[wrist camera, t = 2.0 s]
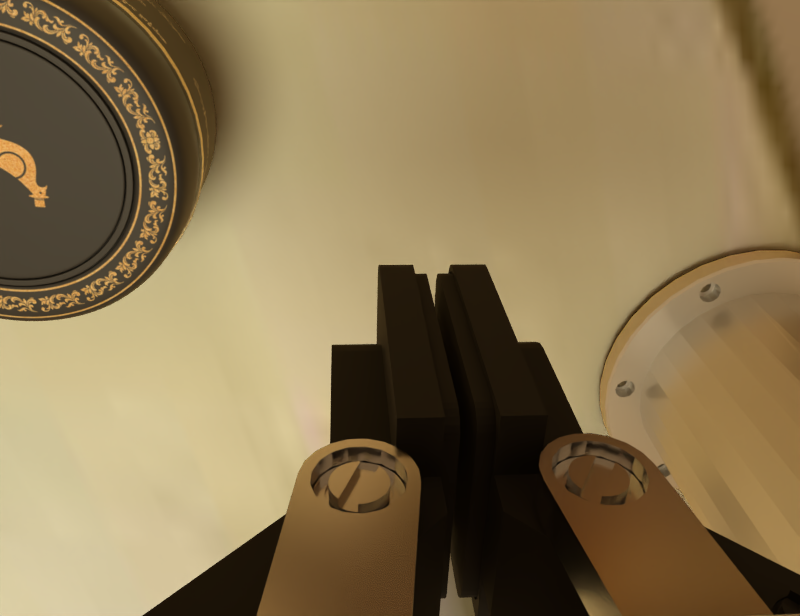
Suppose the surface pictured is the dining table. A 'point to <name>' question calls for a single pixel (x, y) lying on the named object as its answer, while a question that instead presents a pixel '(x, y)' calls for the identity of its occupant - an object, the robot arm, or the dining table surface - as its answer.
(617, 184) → the dining table surface
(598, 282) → the dining table surface
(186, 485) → the dining table surface
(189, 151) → the jar
